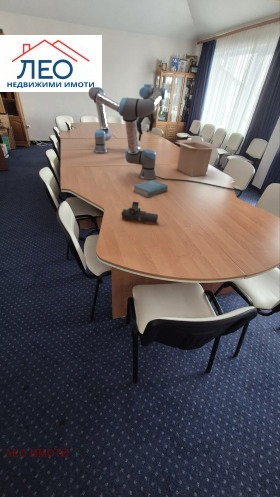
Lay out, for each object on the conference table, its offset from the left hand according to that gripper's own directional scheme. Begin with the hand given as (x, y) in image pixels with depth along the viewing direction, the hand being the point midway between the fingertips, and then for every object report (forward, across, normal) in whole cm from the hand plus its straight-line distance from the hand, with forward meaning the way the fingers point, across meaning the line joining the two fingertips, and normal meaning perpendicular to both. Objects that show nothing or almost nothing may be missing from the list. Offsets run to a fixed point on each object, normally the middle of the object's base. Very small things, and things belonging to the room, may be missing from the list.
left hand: (135, 141), depth 262 cm
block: (+15, 0, 0) cm, 15 cm away
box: (+16, -9, +82) cm, 84 cm away
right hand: (-18, +24, +44) cm, 53 cm away
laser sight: (+16, +102, +130) cm, 166 cm away
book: (+16, +63, +98) cm, 118 cm away
